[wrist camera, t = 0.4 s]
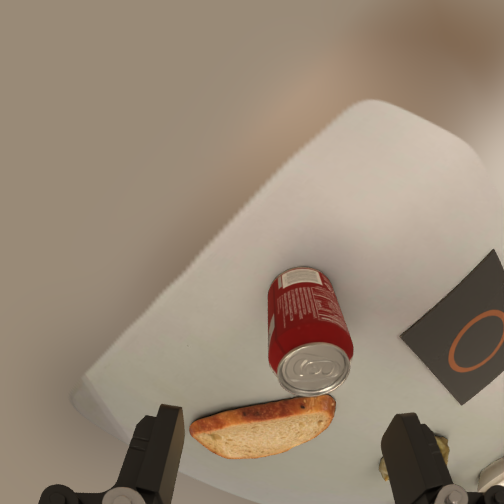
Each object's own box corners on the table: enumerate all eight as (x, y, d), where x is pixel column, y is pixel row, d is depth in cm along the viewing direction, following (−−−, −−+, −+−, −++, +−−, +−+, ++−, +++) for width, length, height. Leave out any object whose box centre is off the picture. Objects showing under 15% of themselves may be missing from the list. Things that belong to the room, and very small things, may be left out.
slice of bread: (346, 398, 40) (350, 418, 36) (286, 460, 46) (287, 477, 43) (221, 362, 38) (217, 383, 34) (183, 434, 44) (179, 452, 41)
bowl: (522, 442, 51) (533, 463, 43) (503, 468, 57) (512, 487, 49) (478, 464, 53) (488, 488, 45) (462, 488, 58) (469, 509, 51)
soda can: (273, 259, 32) (277, 333, 21) (338, 268, 32) (370, 340, 21) (263, 316, 35) (262, 398, 24) (323, 322, 35) (343, 403, 24)
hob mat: (399, 335, 36) (400, 337, 35) (493, 248, 31) (494, 249, 31) (461, 404, 41) (461, 405, 41) (530, 343, 37) (531, 344, 36)
